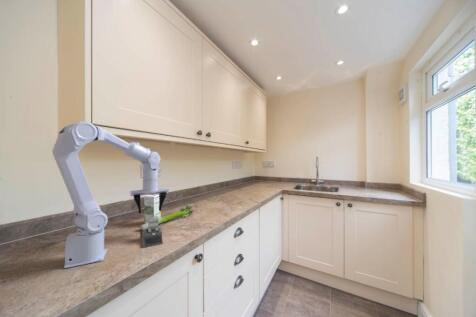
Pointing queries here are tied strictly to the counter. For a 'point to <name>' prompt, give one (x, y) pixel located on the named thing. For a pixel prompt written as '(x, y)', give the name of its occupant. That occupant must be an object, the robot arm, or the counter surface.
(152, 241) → the stand
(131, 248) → the counter surface
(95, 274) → the counter surface
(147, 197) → the syrup box
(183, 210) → the leek
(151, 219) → the column
